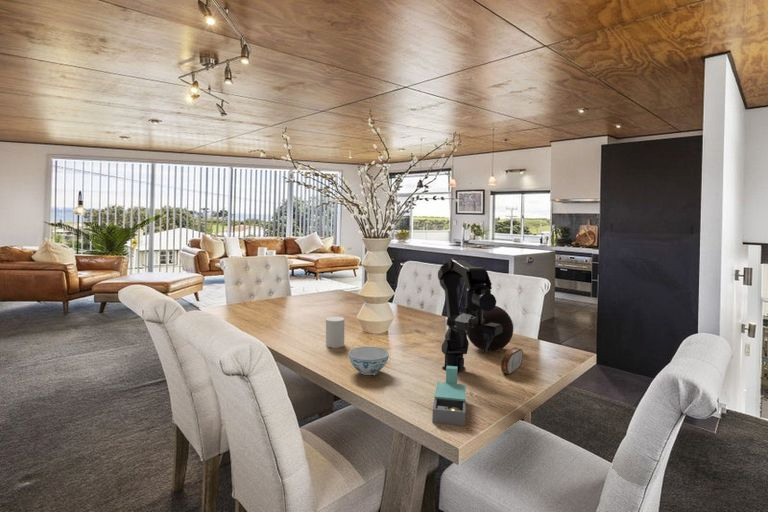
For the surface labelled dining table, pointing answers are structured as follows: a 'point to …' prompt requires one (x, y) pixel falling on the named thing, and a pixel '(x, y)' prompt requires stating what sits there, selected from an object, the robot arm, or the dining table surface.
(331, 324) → the gray cylinder
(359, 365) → the chinaware
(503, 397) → the dining table surface
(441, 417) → the grey box
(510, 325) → the decorative orb
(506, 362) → the tin
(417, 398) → the dining table surface
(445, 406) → the steel part
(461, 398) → the teal stepped block
